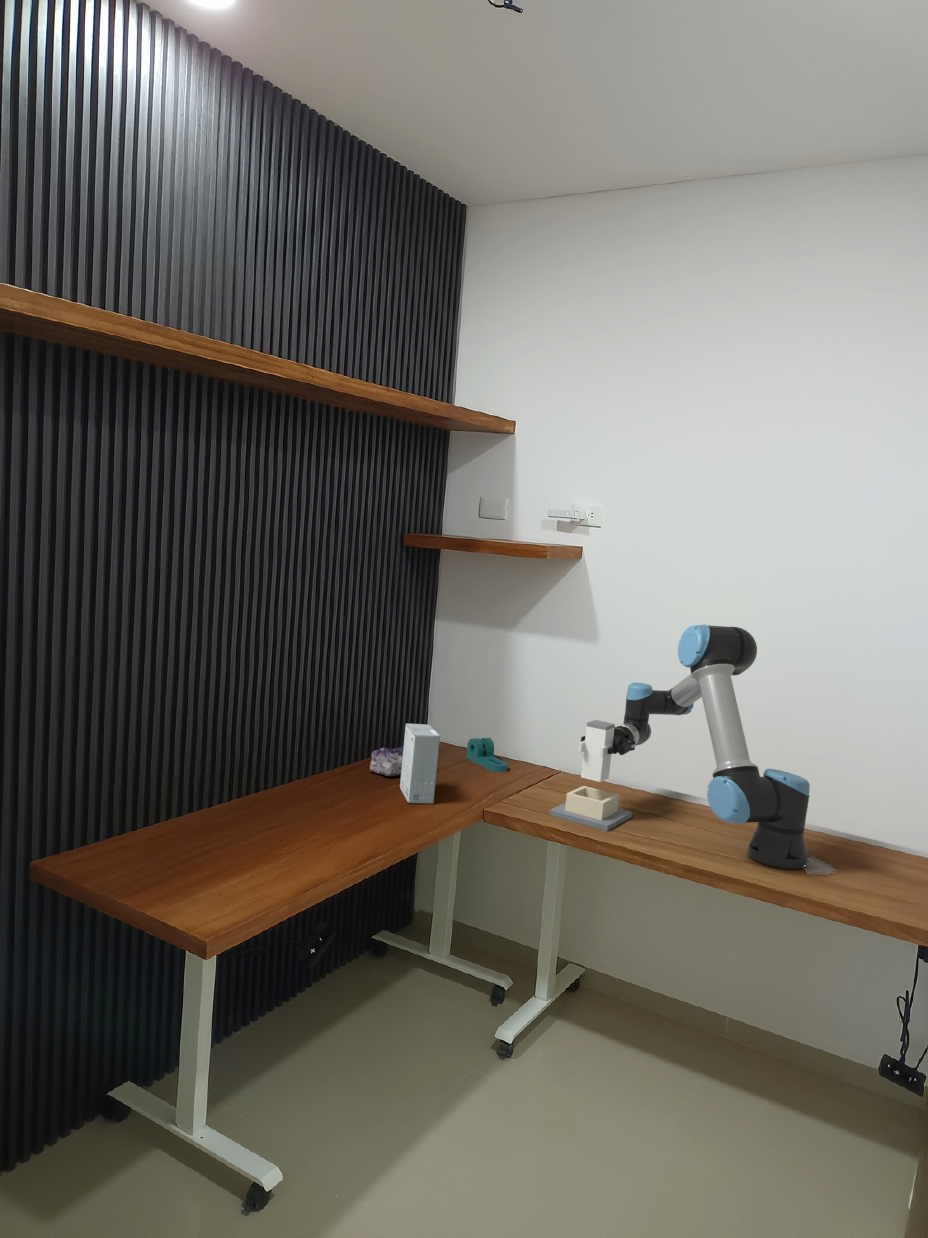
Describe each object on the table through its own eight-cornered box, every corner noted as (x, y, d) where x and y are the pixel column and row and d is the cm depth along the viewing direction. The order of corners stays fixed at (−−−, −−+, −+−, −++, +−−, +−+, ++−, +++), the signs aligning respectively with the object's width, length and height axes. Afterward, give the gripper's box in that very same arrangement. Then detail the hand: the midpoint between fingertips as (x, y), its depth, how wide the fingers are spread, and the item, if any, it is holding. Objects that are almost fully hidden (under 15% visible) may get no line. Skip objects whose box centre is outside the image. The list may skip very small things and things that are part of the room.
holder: (631, 817, 262) (634, 795, 262) (607, 831, 247) (609, 808, 246) (576, 802, 272) (578, 781, 271) (548, 815, 257) (551, 793, 256)
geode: (417, 765, 297) (423, 737, 295) (435, 780, 288) (441, 750, 286) (363, 767, 285) (368, 738, 283) (380, 783, 276) (386, 752, 274)
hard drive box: (434, 804, 256) (440, 736, 254) (407, 804, 254) (414, 735, 252) (423, 788, 271) (429, 723, 269) (398, 787, 269) (404, 722, 267)
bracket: (466, 758, 312) (468, 736, 311) (482, 757, 315) (484, 735, 314) (494, 773, 296) (496, 749, 296) (511, 771, 300) (513, 748, 299)
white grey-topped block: (608, 778, 259) (614, 724, 258) (600, 782, 254) (606, 726, 253) (589, 773, 263) (595, 719, 261) (580, 777, 258) (587, 722, 256)
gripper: (650, 756, 268) (620, 770, 249) (592, 743, 278) (559, 755, 259) (653, 732, 267) (623, 744, 248) (595, 719, 277) (561, 730, 258)
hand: (590, 750), depth 253 cm, fingers closed on white grey-topped block, 6 cm apart
